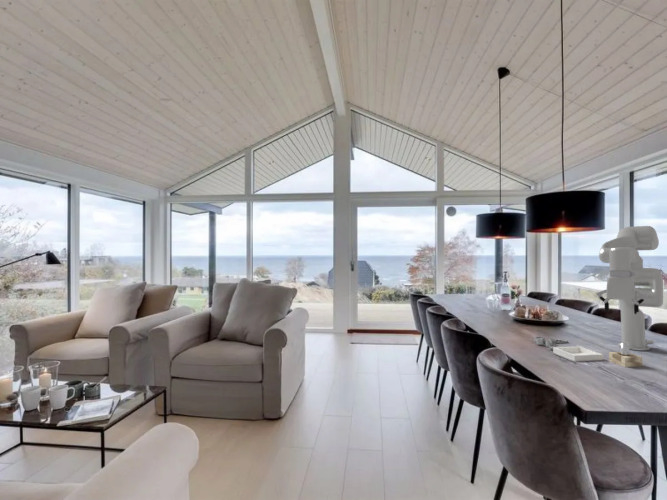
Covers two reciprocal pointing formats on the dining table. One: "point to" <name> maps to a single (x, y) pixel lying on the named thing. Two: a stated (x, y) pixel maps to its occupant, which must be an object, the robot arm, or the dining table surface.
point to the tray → (577, 353)
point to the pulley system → (549, 342)
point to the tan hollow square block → (625, 359)
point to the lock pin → (625, 349)
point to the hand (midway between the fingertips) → (621, 312)
